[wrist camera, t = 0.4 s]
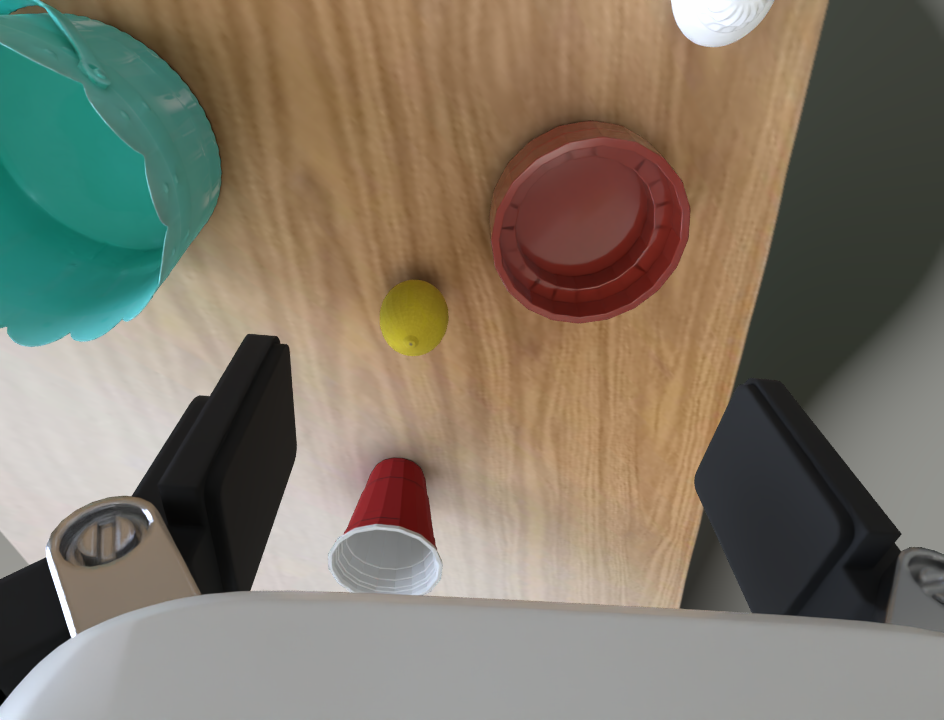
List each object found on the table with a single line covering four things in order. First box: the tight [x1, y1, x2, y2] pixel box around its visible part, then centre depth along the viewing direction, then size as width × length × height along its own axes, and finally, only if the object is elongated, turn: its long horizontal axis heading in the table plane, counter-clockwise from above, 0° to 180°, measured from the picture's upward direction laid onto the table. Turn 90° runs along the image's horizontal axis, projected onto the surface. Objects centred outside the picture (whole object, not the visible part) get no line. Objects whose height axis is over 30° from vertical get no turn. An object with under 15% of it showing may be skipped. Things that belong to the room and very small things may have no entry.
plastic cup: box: [328, 458, 443, 596], centre depth 57 cm, size 11×11×12 cm
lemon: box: [380, 280, 448, 356], centre depth 46 cm, size 6×6×8 cm
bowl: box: [489, 121, 690, 323], centre depth 43 cm, size 14×14×5 cm
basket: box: [0, 0, 222, 347], centre depth 36 cm, size 19×18×13 cm
